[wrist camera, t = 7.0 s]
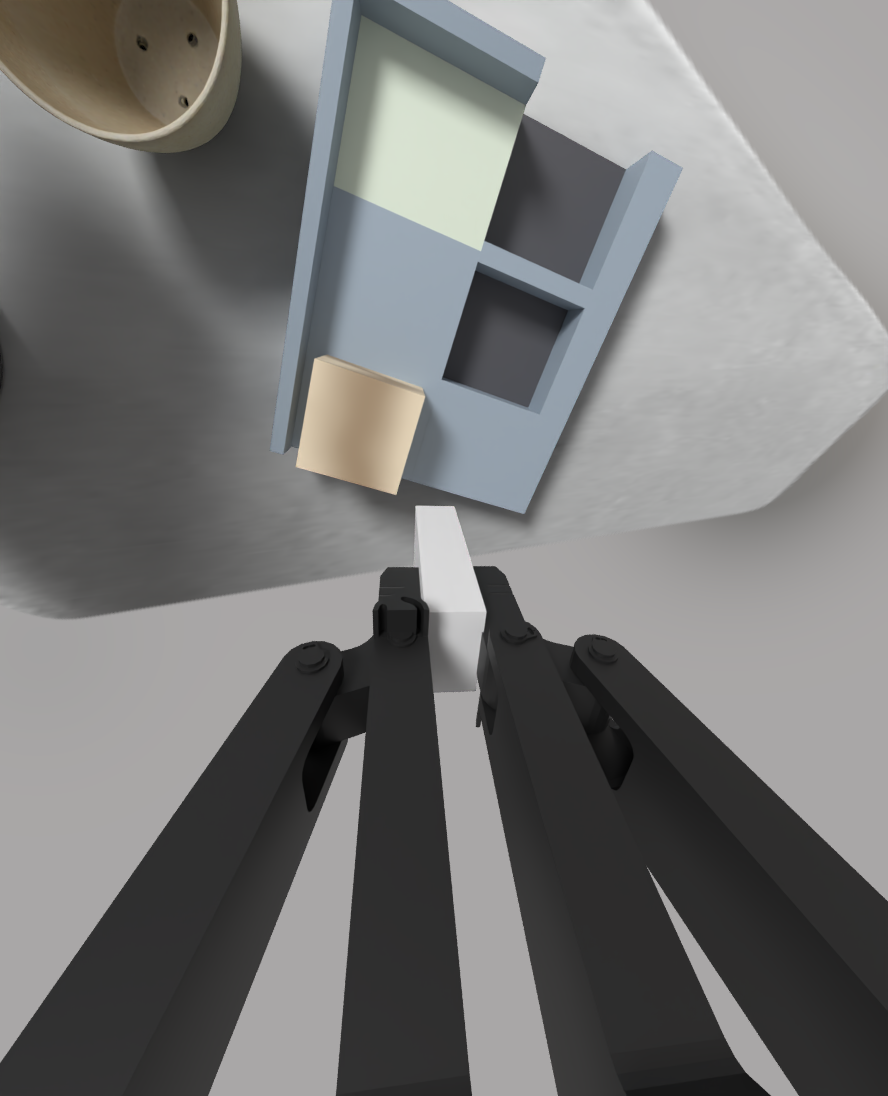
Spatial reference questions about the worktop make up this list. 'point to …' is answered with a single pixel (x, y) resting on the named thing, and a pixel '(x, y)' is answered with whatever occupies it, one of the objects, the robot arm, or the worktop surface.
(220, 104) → the tan bowl
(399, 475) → the block
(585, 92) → the worktop surface
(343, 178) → the tray
